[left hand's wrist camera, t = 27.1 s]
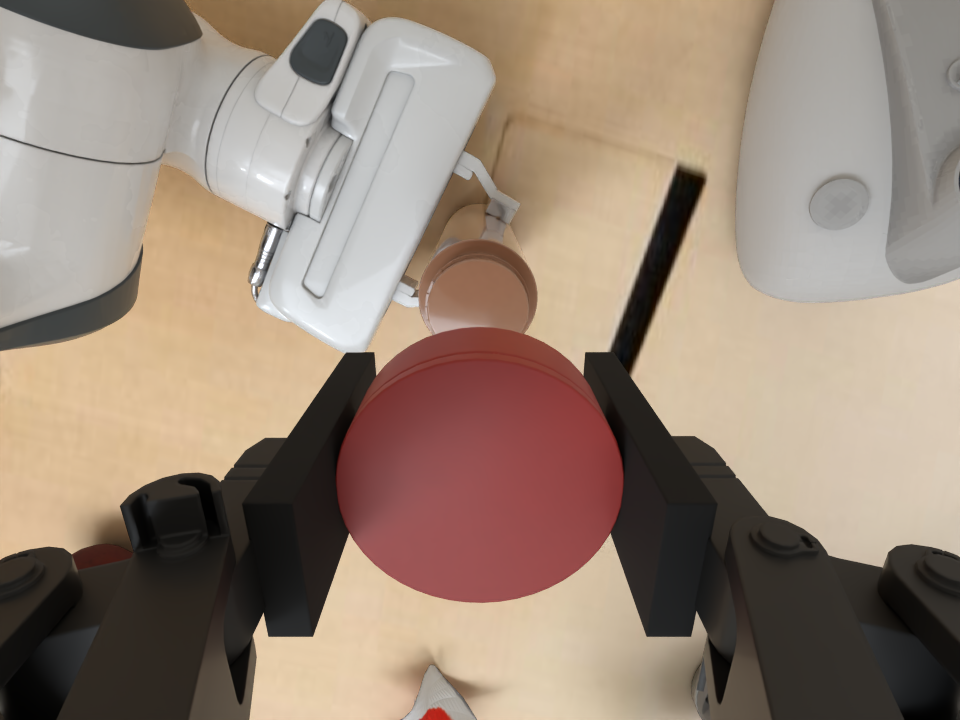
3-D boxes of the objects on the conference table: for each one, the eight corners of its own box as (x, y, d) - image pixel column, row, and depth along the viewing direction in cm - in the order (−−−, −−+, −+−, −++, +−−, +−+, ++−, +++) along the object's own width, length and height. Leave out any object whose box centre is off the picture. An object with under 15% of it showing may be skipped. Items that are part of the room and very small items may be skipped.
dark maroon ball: (83, 520, 49) (23, 576, 43) (167, 539, 50) (120, 597, 44) (82, 577, 52) (24, 638, 45) (161, 594, 53) (116, 656, 46)
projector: (1071, 85, 36) (1434, 42, 22) (823, 345, 43) (983, 433, 29) (851, -140, 31) (1137, -367, 18) (614, 191, 38) (688, 211, 25)
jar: (432, 258, 40) (395, 342, 22) (459, 191, 38) (442, 223, 20) (495, 284, 41) (509, 387, 23) (524, 221, 39) (564, 277, 21)
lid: (542, 566, 13) (552, 632, 12) (329, 500, 13) (303, 559, 11) (646, 378, 11) (677, 420, 10) (401, 286, 11) (384, 313, 9)
